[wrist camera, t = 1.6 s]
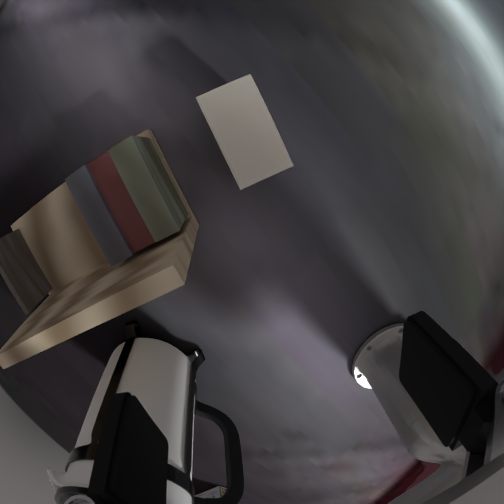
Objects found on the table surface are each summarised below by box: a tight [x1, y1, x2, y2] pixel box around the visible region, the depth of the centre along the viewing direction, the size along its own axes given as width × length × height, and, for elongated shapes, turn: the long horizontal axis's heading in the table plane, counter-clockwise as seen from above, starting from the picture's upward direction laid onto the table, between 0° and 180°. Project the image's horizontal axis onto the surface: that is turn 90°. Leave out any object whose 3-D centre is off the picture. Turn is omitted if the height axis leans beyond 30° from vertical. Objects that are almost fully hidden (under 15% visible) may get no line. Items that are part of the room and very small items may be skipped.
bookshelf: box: [0, 129, 199, 369], centre depth 25 cm, size 22×12×16 cm, turn 114°
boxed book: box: [196, 74, 293, 190], centre depth 26 cm, size 4×8×10 cm, turn 24°
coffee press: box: [47, 321, 244, 504], centre depth 25 cm, size 17×16×30 cm
